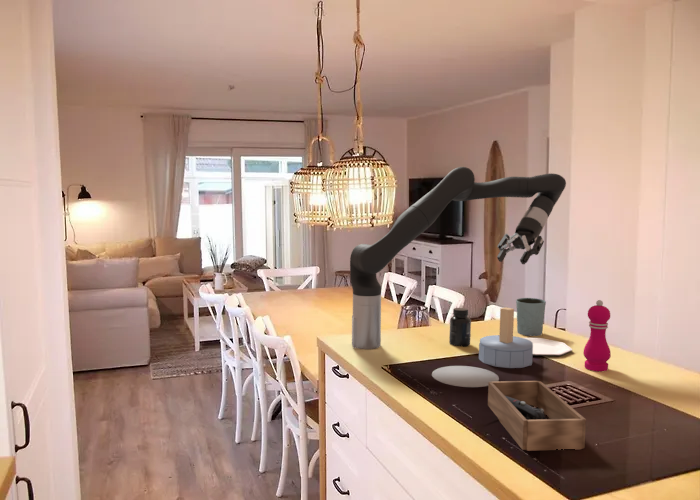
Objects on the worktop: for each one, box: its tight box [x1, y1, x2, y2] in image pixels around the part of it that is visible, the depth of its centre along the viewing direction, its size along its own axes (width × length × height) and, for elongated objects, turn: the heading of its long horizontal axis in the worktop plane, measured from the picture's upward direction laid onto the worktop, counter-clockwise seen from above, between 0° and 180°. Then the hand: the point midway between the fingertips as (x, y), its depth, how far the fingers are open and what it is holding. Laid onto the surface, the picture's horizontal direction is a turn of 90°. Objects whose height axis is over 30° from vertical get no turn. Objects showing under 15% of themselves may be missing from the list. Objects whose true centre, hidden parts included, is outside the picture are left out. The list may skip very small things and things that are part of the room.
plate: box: [523, 337, 573, 357], centre depth 187 cm, size 20×20×2 cm
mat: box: [431, 365, 500, 388], centre depth 158 cm, size 18×18×1 cm
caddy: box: [487, 380, 587, 452], centre depth 126 cm, size 13×24×6 cm, turn 4°
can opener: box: [505, 396, 546, 420], centre depth 128 cm, size 18×7×6 cm, turn 15°
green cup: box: [515, 297, 547, 337], centre depth 207 cm, size 10×10×12 cm
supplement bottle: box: [448, 307, 472, 348], centre depth 191 cm, size 7×7×12 cm
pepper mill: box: [582, 299, 611, 372], centre depth 166 cm, size 7×7×20 cm
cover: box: [478, 307, 534, 369], centre depth 173 cm, size 15×15×16 cm
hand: (510, 261), depth 185 cm, fingers open, 8 cm apart
